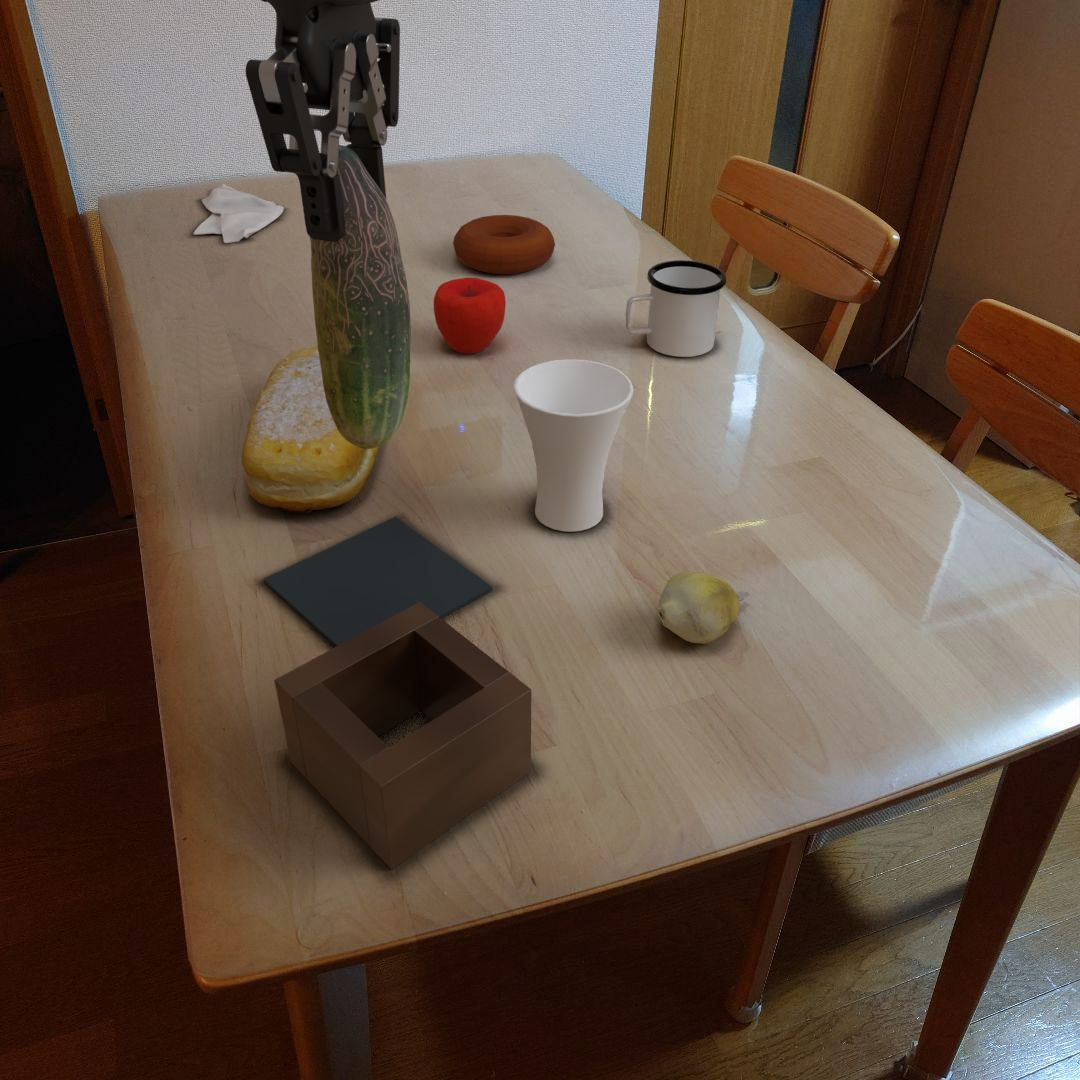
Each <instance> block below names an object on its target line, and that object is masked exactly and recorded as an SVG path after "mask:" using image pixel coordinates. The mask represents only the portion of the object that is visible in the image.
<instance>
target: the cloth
mask: <svg viewBox="0 0 1080 1080" xmlns="http://www.w3.org/2000/svg"><path fill="white" fill-rule="evenodd" d="M201 202H202V204H203V205H204V207H205V208H206V209H207V210H208V211H209V212H211V214H210V216H209V217H207V218H206V219H205V220H204V221H203V222H201V223H199V225H198V227H197V228H196V229H195V230H194V232H193V235H194V236H199V235H210V234H211V235H212V234H215V235H222V239H223V243H224V244H232V243H237V242H240V241H241V240H242V239H248V238H249V237H251V236H252V235H254V234H256V233H257V232H258V231H260V230H262V229H263V228H265V227H267V226H268V225H270V224H271V223H272V222H274V221H276V220H277V219H278V218H279V217H280V216H281V215H282V214H283V213H284V210H285V208H284V207H283V206H282V205H277V204H276V203H275V202H274V201H272V200H266V199H263V198H261V197H259V196H257V195H254V194H252V193H248V192H244V191H241V190H236V189H234V188H232V187H230V186H228V185H226V184H224V183H222V184H221V186H218V187H215V188H212V189H211V191H210V193H209V195H208V196H207V197H204V198H202V199H201Z"/></svg>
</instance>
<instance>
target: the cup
mask: <svg viewBox="0 0 1080 1080" xmlns="http://www.w3.org/2000/svg"><path fill="white" fill-rule="evenodd" d="M513 390H514V394H515V396H516V399H517V402H518V404H519V408H520V410H521V413H522V416H523V421H524V423H525V426H526V429H527V432H528V435H529V438H530V441H531V444H532V450H533V455H534V462H535V467H536V468H535V469H536V482H537V493H536V501H535V508H534V514H535V517H536V519H537V520H538V521H539V523H541V524H542V525H544V526H545V527H546V528H547V527H548V528H550V529H552V530H556V531H560V532H569V533H570V532H572V533H573V532H581V531H584V530H589V529H591V528H593V527H595V526H596V525H597V524H599V523H600V522H601V521H602V519H603V517H604V502H603V500H604V499H603V486H604V478H605V472H606V468H607V467H606V466H607V463H608V459H609V455H610V452H611V448H612V444H613V443H614V439H615V438H616V435H617V432H618V430H619V427H620V425H621V422H622V420H623V418H624V415H625V413H626V410H627V408H628V406H629V405H630V402H631V399H632V397H633V396H634V395H633V394H634V385H633V383H632V381H631V379H630V378H629V377H628V375H626V374H625V373H623V371H622V370H619V369H617V368H615V367H613V366H611V365H608V364H606V363H601V362H598V361H593V360H587V359H577V358H576V359H575V358H574V359H572V358H568V359H567V358H565V359H553V360H550V361H544V362H540V363H538V364H535V365H532V366H529V367H528V368H527V369H524V370H523V371H522V372H520V374H519V375H518V376H517V377H516V378H515V380H514V383H513Z"/></svg>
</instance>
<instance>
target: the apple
mask: <svg viewBox="0 0 1080 1080" xmlns="http://www.w3.org/2000/svg"><path fill="white" fill-rule="evenodd" d="M506 302H507V301H506V295H505V291H504V290H503V288H501V286H500V285H498V284H497V283H494V282H492V281H490V280H487V279H483V278H479V277H461V278H456V279H455V278H454V279H451V280H448V281H445V282H443V283H441V284H440V285H439V286H438V288H437V289H436V291H435V294H434V297H433V314H434V319H435V320H434V321H435V323H436V326H437V329H438V331H439V333H440V334H441V336H442V338H443V339H444V341H445V342H446V343H447V345H448V346H449V347H450V348H451V350H454V351H455V352H457V353H460V354H465V355H467V354H468V355H470V354H471V355H472V354H476V353H479V352H481V351H484V350H485V349H487V348H489V346H490V345H491V343H492V342H493V341H494V339H495V338H496V337H497V335H498V333H500V331H501V329H502V326H503V324H504V320H505V316H506V315H505V314H506V306H507V305H506V304H507V303H506Z"/></svg>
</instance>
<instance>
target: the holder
mask: <svg viewBox="0 0 1080 1080" xmlns="http://www.w3.org/2000/svg"><path fill="white" fill-rule="evenodd" d="M273 682H274V686H275V687H274V688H275V691H276V696H277V697H276V698H277V701H278V706H279V711H280V716H281V722H282V727H283V731H284V737H285V741H286V747H287V751H288V756H289V761H290V762H289V763H291V764H292V766H294V768H296V770H297V771H298V772H299V773H300V774H301V776H303V777H304V778H305V779H306V780H307V781H308V782H309V784H311V785H312V786H313V788H314V789H315V790H316V791H317V792H318V794H320V795H321V797H323V799H324V800H325V801H326V802H327V803H328V804H329V805H330V806H331V807H332V808H333V809H334V811H336V813H338V815H339V816H341V818H342V819H343V820H344V821H345V822H346V823H347V824H348V825H349V826H350V827H351V828H352V830H353V831H354V832H355V833H356V834H357V835H358V836H359V837H360V838H361V839H362V840H363V841H364V842H365V843H366V844H367V846H368V847H369V848H370V849H372V851H373V852H374V853H375V854H376V856H377V857H378V858H380V860H381V861H382V862H383V863H384V864H385V865H386V866H387V867H388V868H389V869H390V870H393V869H394V868H396V867H397V866H399V865H400V864H402V863H403V862H404V861H406V860H407V859H409V858H410V857H411V856H413V855H414V854H416V853H417V852H419V851H420V850H421V849H423V848H424V847H426V846H427V845H429V843H431V842H433V841H434V840H436V839H437V838H438V837H440V836H441V835H443V834H444V833H446V832H447V831H448V830H449V829H451V828H453V827H454V826H456V825H457V824H459V823H460V822H461V821H463V820H464V819H465V818H467V817H468V816H470V815H471V814H473V813H474V812H475V811H476V810H478V809H480V808H481V807H482V806H483V805H485V804H486V803H488V802H489V801H490V800H493V799H494V798H495V797H497V796H498V795H499V794H501V793H502V792H504V791H505V790H506V789H508V788H510V787H511V786H512V785H514V784H515V783H516V782H518V781H520V779H522V778H524V777H525V776H526V775H528V774H529V773H531V771H532V689H531V688H530V687H529V686H528V685H527V684H525V683H524V682H522V681H521V680H520V679H519V678H517V677H516V676H515V675H514V674H512V673H511V672H510V671H508V670H507V669H506V668H505V667H503V666H502V665H501V664H500V663H498V662H497V661H496V660H494V658H492V657H491V656H490V655H488V654H487V653H486V652H485V651H483V650H482V649H481V648H479V647H478V646H477V645H475V644H474V643H473V642H472V641H471V640H469V639H468V638H467V637H466V636H464V635H463V634H462V633H460V632H459V631H458V630H457V629H455V628H454V627H453V626H452V625H450V624H449V623H448V622H446V621H445V620H444V619H443V618H440V617H438V616H437V615H436V614H435V613H434V612H432V611H431V610H430V609H428V608H427V607H426V606H425V605H423V604H422V603H421V602H419V603H417V604H415V605H413V606H411V607H409V608H408V609H406V610H404V611H402V612H400V613H398V614H396V615H395V616H393V617H391V618H389V619H387V620H385V621H383V622H381V623H380V624H378V625H376V626H374V627H372V628H370V629H368V630H367V631H365V632H363V633H361V634H359V635H357V636H355V637H354V638H352V639H350V640H348V641H346V642H344V643H342V644H340V645H339V646H337V647H335V646H334V647H333V648H331V649H329V650H327V651H325V652H324V653H322V654H320V655H318V656H316V657H315V658H312V659H310V660H309V661H307V662H305V663H303V664H301V665H300V666H299V665H298V667H295V668H294V669H292V670H290V671H288V672H286V673H284V674H283V675H281V676H279V677H277V678H275V679H274V681H273ZM419 712H422V713H423V714H424V715H425V716H426V717H427V718H428V719H429V720H430V721H429V722H427V723H426V724H424V725H423V726H421V727H419V728H418V729H416V730H415V731H413V732H411V733H410V734H408V735H406V736H405V737H404V738H402V739H400V740H398V741H396V742H395V743H393V744H392V745H391V746H388V745H387V744H386V743H385V742H384V740H382V739H381V738H380V736H381V735H383V734H385V733H386V732H388V731H390V730H391V729H393V728H394V727H396V726H397V725H399V724H401V723H403V722H404V721H406V720H408V719H409V718H411V717H413V716H414V715H415V714H417V713H419Z"/></svg>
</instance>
